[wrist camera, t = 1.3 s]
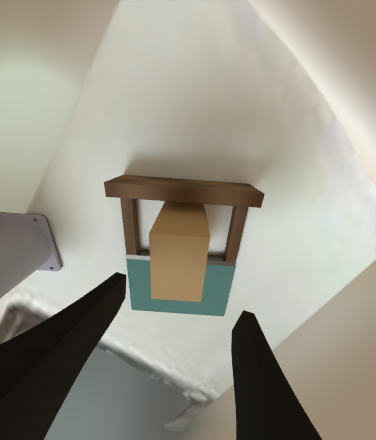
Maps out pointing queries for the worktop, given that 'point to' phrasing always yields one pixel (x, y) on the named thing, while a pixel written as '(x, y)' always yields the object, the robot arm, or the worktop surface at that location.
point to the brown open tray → (183, 192)
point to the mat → (210, 303)
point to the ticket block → (179, 252)
